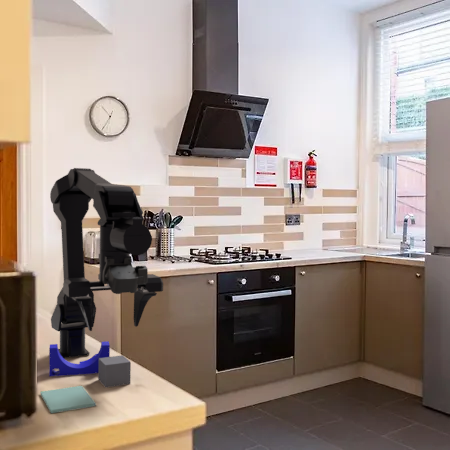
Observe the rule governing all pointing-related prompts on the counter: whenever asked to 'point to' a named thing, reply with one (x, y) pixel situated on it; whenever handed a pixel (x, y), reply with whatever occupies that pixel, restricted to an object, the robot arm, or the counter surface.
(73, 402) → the teal board
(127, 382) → the gray cube block
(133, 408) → the counter surface
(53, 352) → the blue arched bracket
